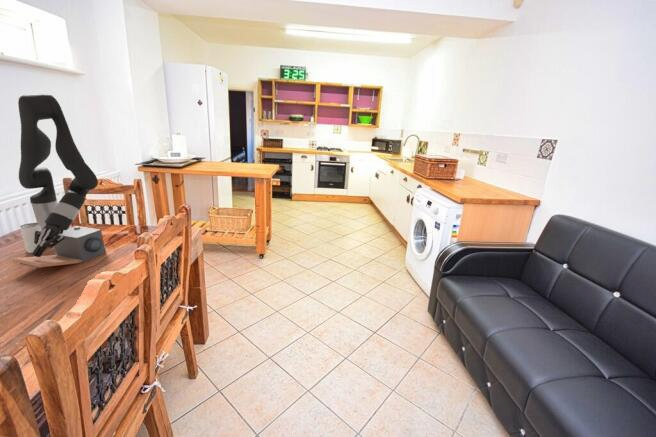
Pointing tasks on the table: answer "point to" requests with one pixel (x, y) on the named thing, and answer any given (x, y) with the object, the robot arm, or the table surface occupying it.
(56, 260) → the side door
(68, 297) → the table surface
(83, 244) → the camera body
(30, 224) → the can
